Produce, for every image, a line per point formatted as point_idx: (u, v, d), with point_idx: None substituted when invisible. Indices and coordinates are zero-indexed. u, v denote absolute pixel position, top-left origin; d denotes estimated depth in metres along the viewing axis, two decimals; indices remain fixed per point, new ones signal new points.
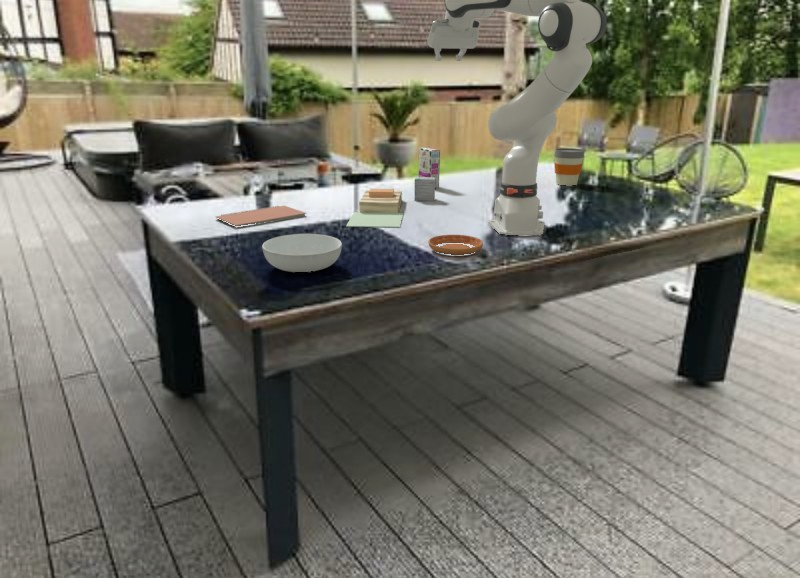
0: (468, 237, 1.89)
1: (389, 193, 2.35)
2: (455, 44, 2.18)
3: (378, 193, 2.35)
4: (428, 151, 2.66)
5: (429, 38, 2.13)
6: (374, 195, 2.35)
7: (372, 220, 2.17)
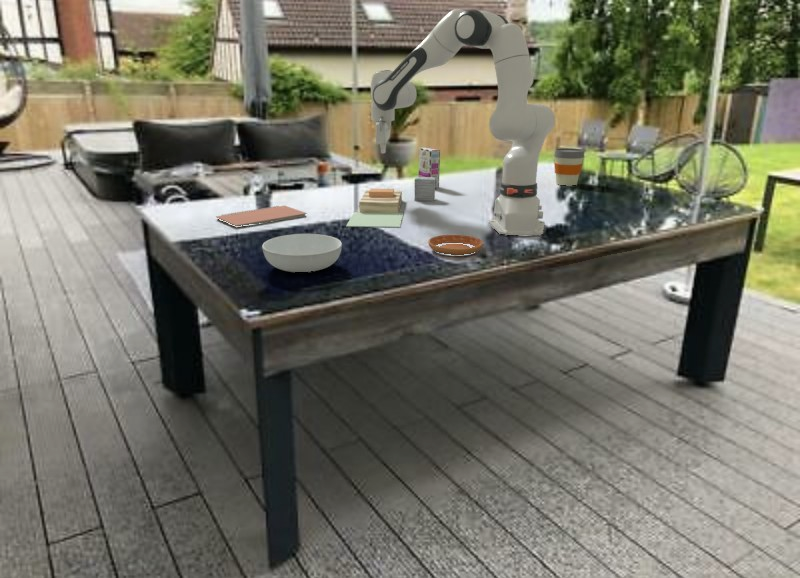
0: (468, 237, 1.89)
1: (389, 193, 2.35)
2: None
3: (378, 193, 2.35)
4: (428, 151, 2.66)
5: (378, 136, 2.30)
6: (374, 195, 2.35)
7: (372, 220, 2.17)
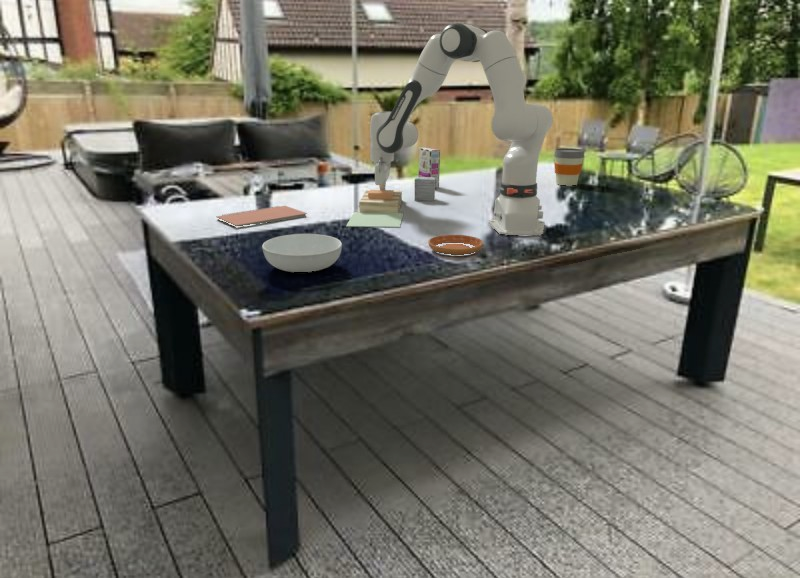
0: (468, 237, 1.89)
1: (388, 194, 2.33)
2: (387, 176, 2.38)
3: (377, 194, 2.33)
4: (428, 151, 2.66)
5: (378, 178, 2.28)
6: (373, 196, 2.33)
7: (372, 220, 2.17)
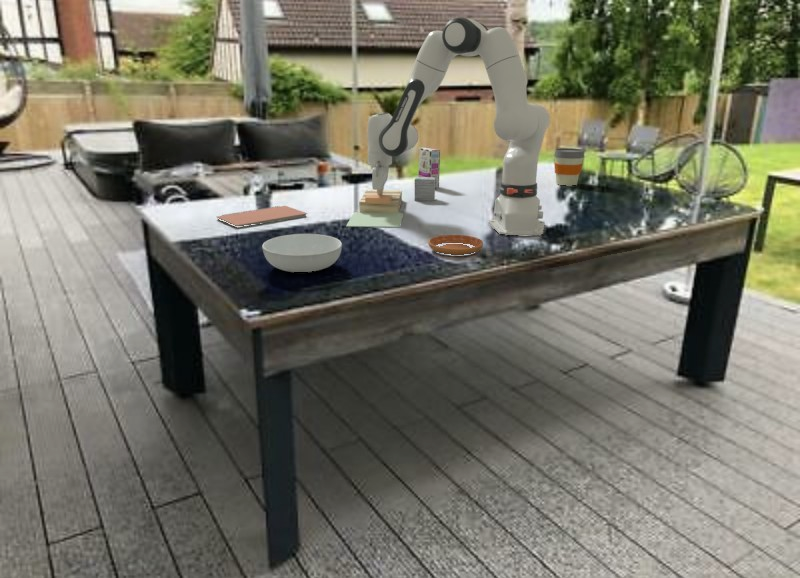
0: (468, 237, 1.89)
1: (386, 199, 2.24)
2: (385, 180, 2.30)
3: (375, 199, 2.25)
4: (428, 151, 2.66)
5: (375, 182, 2.20)
6: (371, 201, 2.25)
7: (372, 220, 2.17)
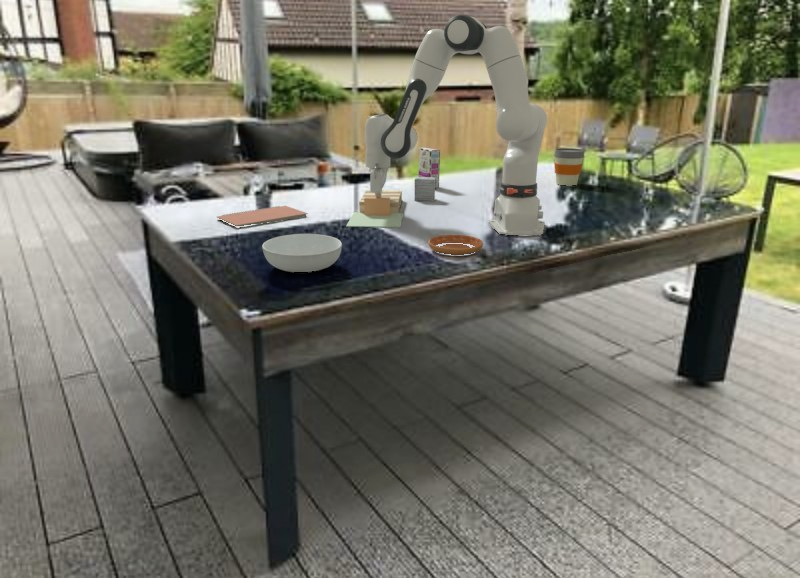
0: (468, 237, 1.89)
1: None
2: (383, 183, 2.25)
3: None
4: (428, 151, 2.66)
5: (373, 185, 2.15)
6: None
7: (372, 220, 2.17)
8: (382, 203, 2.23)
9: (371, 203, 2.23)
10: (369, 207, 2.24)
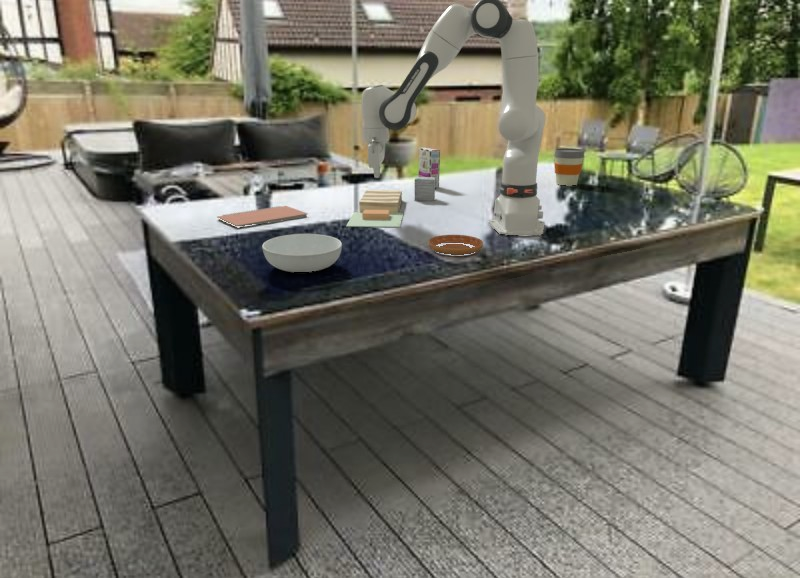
0: (468, 237, 1.89)
1: None
2: None
3: None
4: (428, 151, 2.66)
5: (371, 160, 2.05)
6: None
7: (372, 220, 2.17)
8: None
9: None
10: None
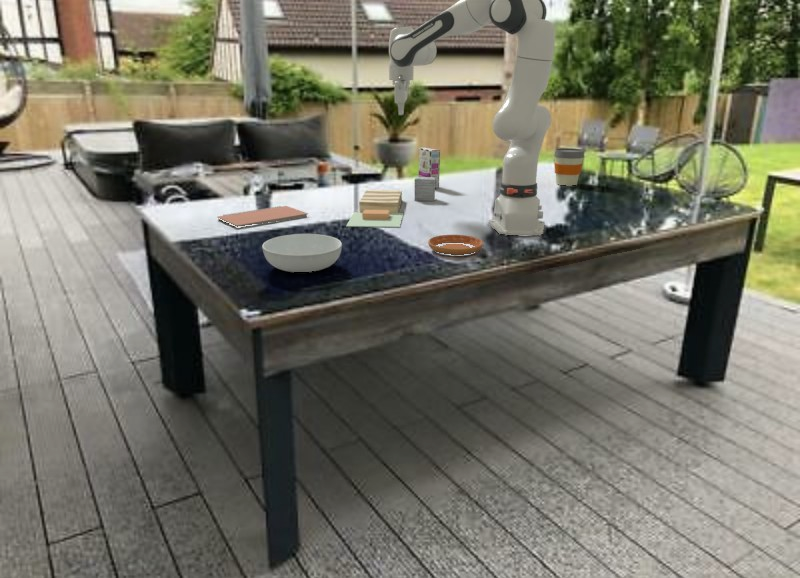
0: (468, 237, 1.89)
1: None
2: None
3: None
4: (428, 151, 2.66)
5: (397, 95, 2.20)
6: None
7: (372, 220, 2.17)
8: None
9: None
10: None
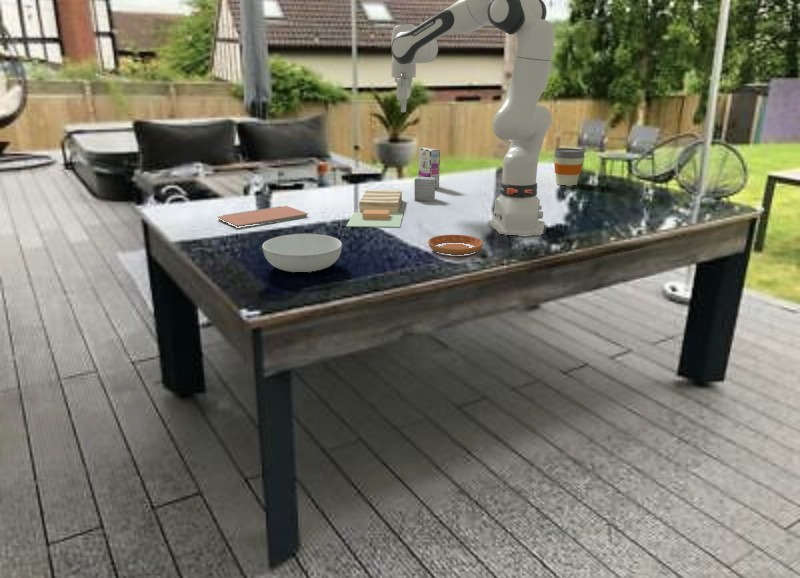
0: (468, 237, 1.89)
1: None
2: (408, 94, 2.31)
3: None
4: (428, 151, 2.66)
5: (400, 92, 2.21)
6: None
7: (372, 220, 2.17)
8: None
9: None
10: None
